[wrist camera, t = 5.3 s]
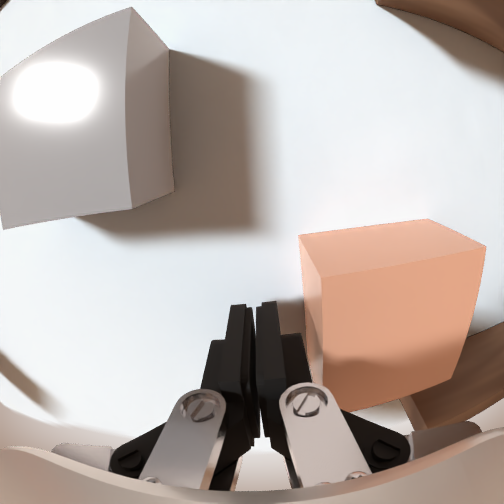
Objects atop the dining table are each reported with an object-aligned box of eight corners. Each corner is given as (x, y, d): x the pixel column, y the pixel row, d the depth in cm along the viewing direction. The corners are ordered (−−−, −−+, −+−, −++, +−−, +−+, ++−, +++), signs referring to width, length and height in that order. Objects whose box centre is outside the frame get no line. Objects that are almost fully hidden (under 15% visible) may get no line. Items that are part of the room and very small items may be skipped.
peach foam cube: (297, 234, 10) (320, 277, 7) (426, 218, 10) (486, 246, 6) (306, 354, 12) (321, 418, 9) (414, 330, 12) (450, 378, 8)
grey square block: (57, 88, 8) (0, 76, 5) (170, 50, 8) (131, 6, 4) (62, 207, 10) (3, 229, 6) (176, 190, 10) (132, 209, 6)
